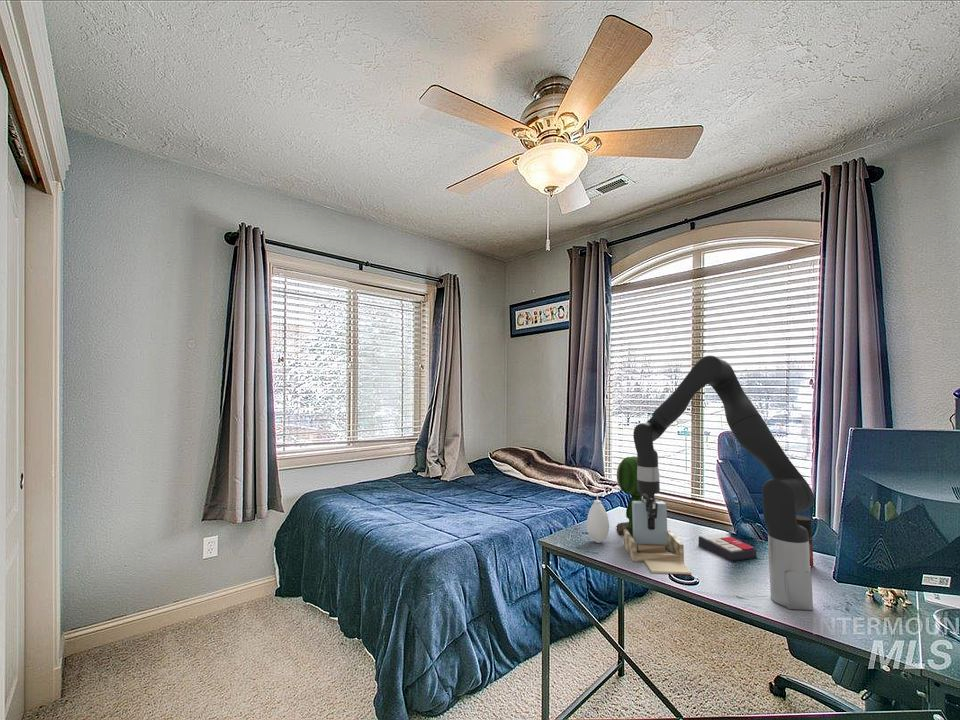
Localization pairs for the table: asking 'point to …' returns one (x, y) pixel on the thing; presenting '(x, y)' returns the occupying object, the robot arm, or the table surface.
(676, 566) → the cork mat
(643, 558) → the rack
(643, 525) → the grey rectangular block
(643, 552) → the offcut slab lower
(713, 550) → the dark flat box
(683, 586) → the table surface
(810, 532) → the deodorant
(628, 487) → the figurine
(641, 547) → the offcut slab upper
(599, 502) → the white rounded upright piece
